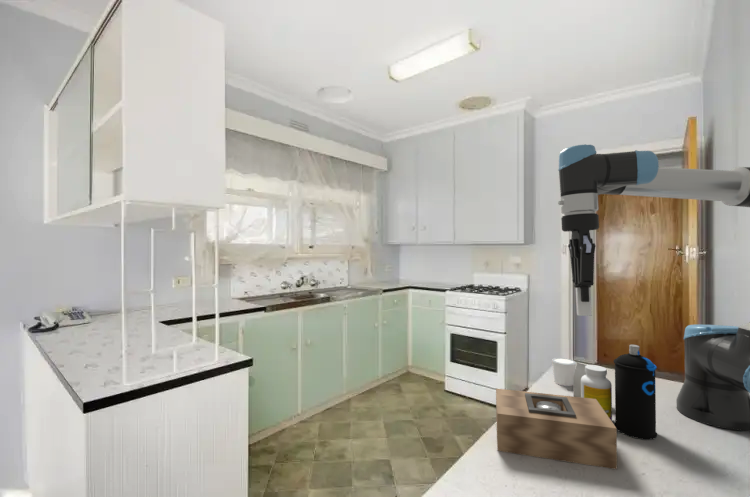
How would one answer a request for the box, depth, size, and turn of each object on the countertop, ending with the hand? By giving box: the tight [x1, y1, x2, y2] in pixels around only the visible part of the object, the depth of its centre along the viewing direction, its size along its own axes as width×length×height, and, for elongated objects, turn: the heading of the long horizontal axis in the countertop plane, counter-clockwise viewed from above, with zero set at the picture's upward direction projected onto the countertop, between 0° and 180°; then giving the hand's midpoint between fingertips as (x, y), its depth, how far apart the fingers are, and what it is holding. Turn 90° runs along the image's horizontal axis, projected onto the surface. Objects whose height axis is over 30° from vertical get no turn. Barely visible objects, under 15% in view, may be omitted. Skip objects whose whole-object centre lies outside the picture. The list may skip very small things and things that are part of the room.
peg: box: [536, 401, 561, 411], centre depth 79 cm, size 5×5×8 cm
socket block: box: [495, 388, 618, 470], centre depth 79 cm, size 22×14×9 cm, turn 72°
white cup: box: [551, 357, 577, 387], centre depth 113 cm, size 7×7×7 cm
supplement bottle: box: [581, 364, 613, 422], centre depth 90 cm, size 7×7×13 cm
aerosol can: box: [613, 344, 658, 441], centre depth 84 cm, size 8×8×20 cm
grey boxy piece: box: [572, 361, 587, 397], centre depth 100 cm, size 4×7×10 cm, turn 30°
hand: (584, 315), depth 83 cm, fingers closed
